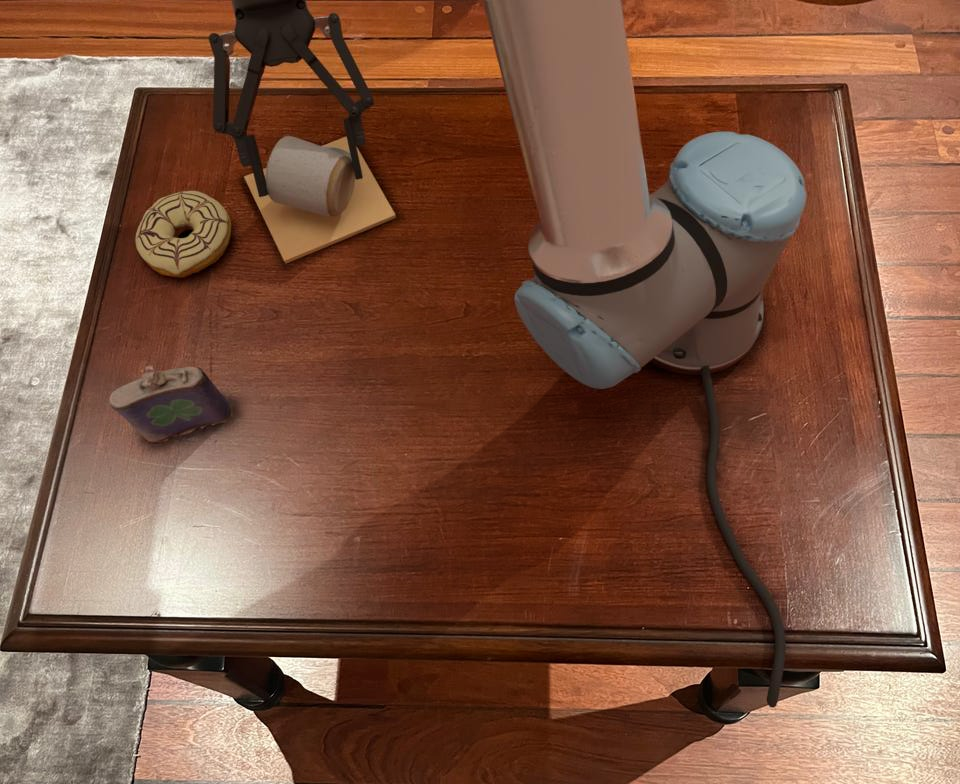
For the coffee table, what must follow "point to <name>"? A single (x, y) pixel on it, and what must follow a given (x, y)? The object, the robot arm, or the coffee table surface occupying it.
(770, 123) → the coffee table surface
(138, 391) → the flask
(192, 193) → the decorated donut
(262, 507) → the coffee table surface
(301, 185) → the ceramic mug
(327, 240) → the cork mat
